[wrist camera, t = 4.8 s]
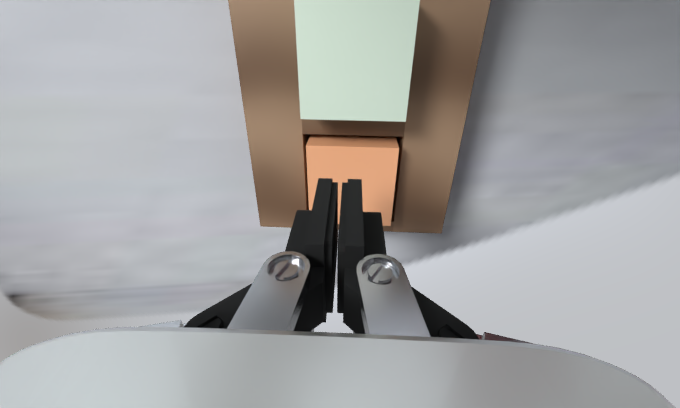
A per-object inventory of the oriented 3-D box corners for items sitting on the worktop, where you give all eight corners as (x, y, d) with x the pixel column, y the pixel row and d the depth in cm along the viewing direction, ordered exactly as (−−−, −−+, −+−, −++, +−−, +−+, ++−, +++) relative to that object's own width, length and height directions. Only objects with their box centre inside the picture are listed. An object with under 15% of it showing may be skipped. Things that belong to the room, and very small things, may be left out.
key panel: (224, -218, 12) (187, -283, 10) (510, -224, 12) (552, -294, 9) (272, 202, 22) (260, 226, 19) (431, 207, 21) (441, 233, 19)
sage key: (305, -2, 14) (293, -7, 11) (409, -1, 14) (420, -6, 11) (309, 103, 16) (300, 119, 14) (398, 105, 16) (405, 121, 14)
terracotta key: (313, 128, 18) (305, 145, 15) (393, 129, 18) (399, 148, 15) (315, 197, 20) (309, 222, 18) (386, 199, 20) (390, 225, 18)
